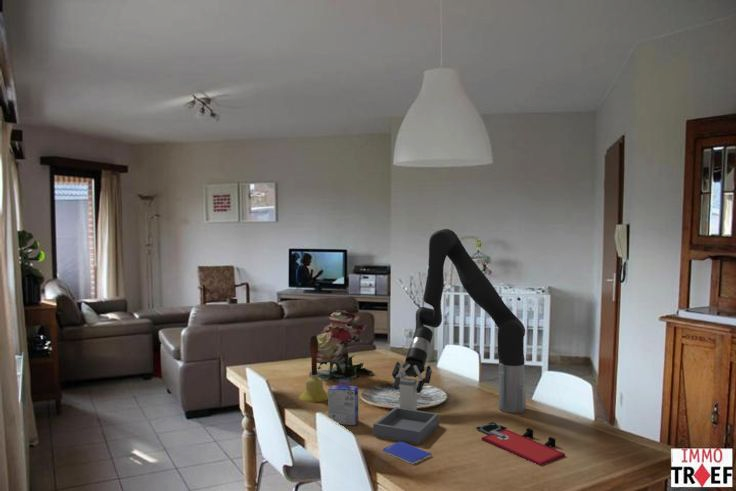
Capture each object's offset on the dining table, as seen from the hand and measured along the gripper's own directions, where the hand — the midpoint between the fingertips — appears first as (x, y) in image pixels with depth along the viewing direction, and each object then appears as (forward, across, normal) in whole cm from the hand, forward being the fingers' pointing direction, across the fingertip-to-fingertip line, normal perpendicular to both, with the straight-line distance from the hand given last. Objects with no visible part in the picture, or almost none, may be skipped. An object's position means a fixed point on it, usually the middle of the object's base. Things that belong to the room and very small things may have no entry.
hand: (406, 390), depth 194 cm
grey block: (+5, 0, +7) cm, 9 cm away
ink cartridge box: (+18, -17, -6) cm, 25 cm away
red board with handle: (+13, +41, 0) cm, 43 cm away
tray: (+16, +6, -4) cm, 18 cm away
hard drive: (+29, +13, -16) cm, 35 cm away
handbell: (+5, -41, +8) cm, 42 cm away
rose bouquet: (-18, -49, +31) cm, 60 cm away
